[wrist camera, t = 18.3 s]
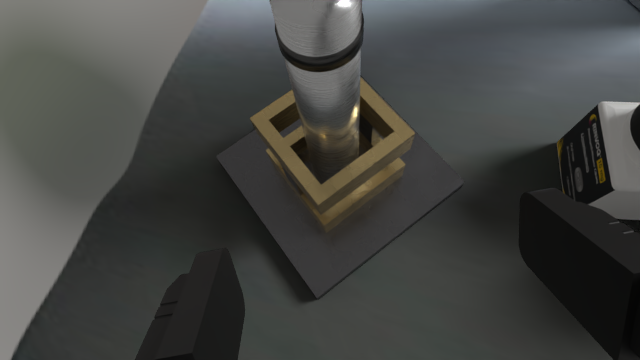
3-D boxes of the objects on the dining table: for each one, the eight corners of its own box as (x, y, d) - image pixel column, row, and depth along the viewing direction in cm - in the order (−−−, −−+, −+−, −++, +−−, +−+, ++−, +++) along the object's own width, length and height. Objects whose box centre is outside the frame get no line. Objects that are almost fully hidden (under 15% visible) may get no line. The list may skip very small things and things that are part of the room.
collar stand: (350, 73, 40) (349, 2, 32) (460, 187, 35) (496, 140, 26) (220, 162, 38) (180, 112, 29) (318, 299, 33) (305, 288, 24)
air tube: (340, 139, 36) (324, -63, 18) (369, 172, 35) (385, -10, 16) (303, 166, 36) (247, -16, 17) (331, 200, 34) (303, 44, 16)
